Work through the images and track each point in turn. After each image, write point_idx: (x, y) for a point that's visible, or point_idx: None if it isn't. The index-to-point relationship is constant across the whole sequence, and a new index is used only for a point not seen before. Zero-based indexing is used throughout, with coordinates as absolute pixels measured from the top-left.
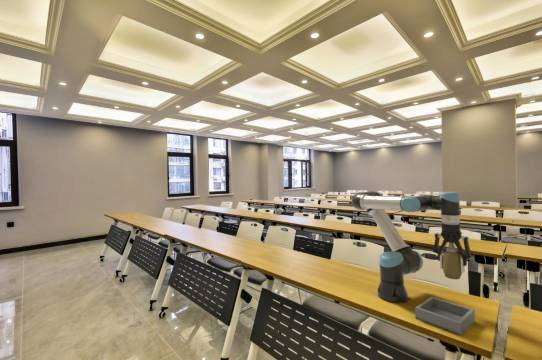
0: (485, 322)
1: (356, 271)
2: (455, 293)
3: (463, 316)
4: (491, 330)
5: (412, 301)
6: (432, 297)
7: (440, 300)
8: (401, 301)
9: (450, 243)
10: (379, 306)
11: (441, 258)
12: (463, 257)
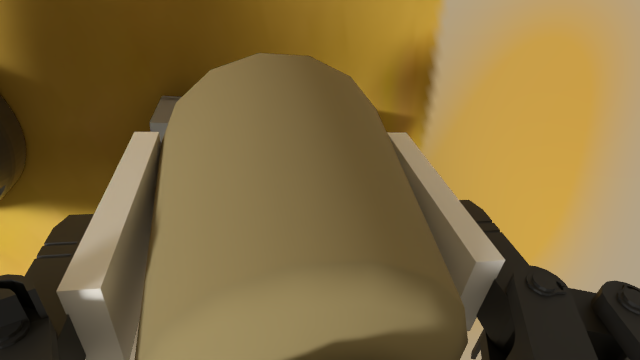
0: (405, 86)
1: None
2: None
3: None
4: (422, 143)
5: (45, 106)
6: (160, 131)
7: None
8: (20, 171)
9: None
10: (2, 270)
11: (138, 313)
12: (502, 357)
